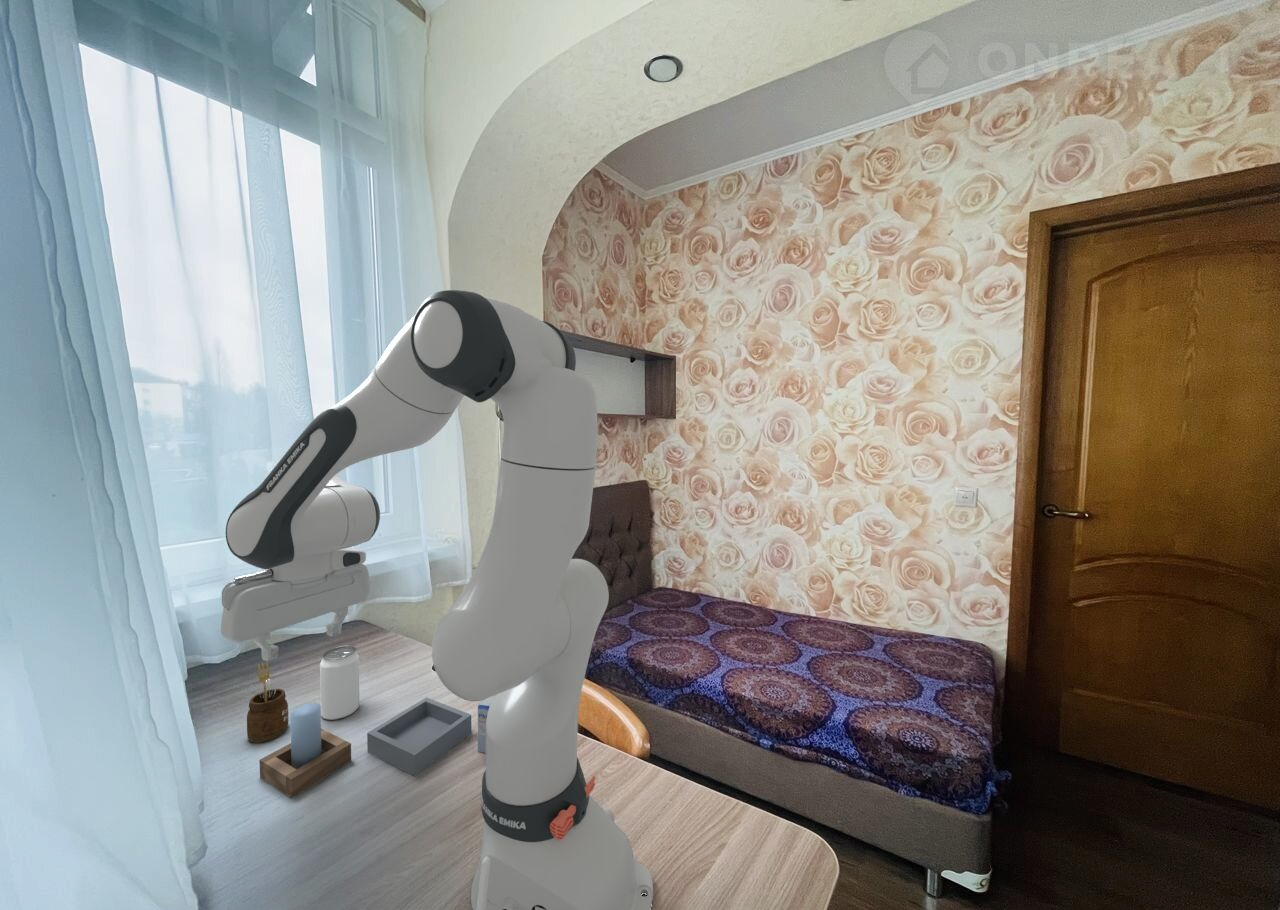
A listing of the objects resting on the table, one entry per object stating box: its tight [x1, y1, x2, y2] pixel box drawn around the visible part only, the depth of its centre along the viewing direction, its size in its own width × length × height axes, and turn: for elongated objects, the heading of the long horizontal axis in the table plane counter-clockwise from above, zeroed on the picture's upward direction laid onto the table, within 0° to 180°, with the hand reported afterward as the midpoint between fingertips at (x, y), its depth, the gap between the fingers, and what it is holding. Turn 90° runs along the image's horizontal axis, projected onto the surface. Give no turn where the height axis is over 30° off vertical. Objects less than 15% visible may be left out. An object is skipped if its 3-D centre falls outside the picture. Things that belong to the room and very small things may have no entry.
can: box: [319, 645, 360, 721], centre depth 91 cm, size 6×6×12 cm
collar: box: [259, 728, 352, 799], centre depth 75 cm, size 9×9×3 cm
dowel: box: [289, 702, 322, 769], centre depth 75 cm, size 4×4×10 cm
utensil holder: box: [246, 661, 289, 744], centre depth 84 cm, size 6×6×12 cm
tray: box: [366, 696, 472, 777], centre depth 82 cm, size 12×12×4 cm
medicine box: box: [477, 696, 495, 754], centre depth 83 cm, size 8×4×9 cm, turn 168°
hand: (303, 645), depth 75 cm, fingers open, 8 cm apart
